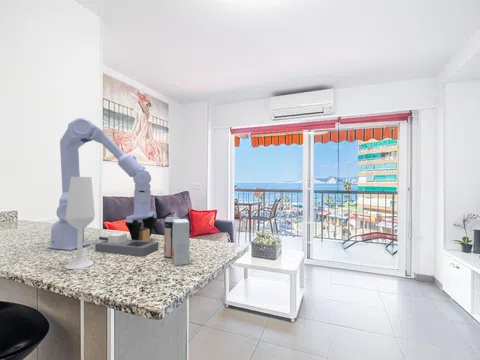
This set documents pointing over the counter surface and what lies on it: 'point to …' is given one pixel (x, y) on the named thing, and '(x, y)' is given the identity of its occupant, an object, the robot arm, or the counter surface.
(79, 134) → the robot arm
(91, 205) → the champagne flute
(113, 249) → the socket strip
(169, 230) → the beer can
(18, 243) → the counter surface
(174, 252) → the skincare box
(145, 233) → the orange plug
